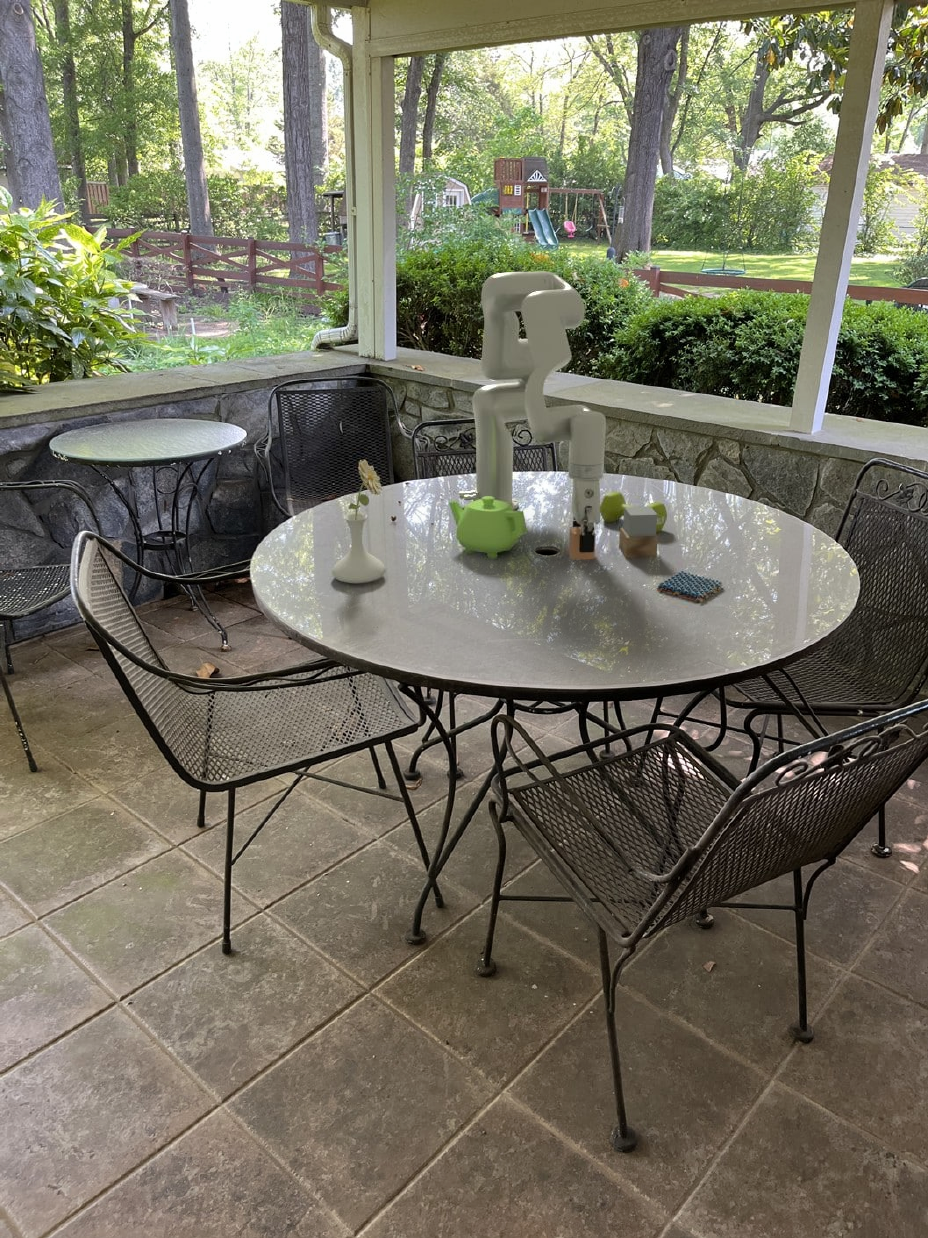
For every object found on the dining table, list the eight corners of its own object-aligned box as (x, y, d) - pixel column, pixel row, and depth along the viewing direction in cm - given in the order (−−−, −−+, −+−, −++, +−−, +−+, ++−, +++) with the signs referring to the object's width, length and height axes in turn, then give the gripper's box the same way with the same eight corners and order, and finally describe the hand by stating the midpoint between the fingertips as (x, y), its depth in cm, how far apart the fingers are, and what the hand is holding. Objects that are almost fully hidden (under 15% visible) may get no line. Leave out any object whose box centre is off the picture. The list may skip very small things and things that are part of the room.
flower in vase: (364, 592, 178) (356, 473, 168) (321, 581, 184) (311, 465, 173) (401, 572, 188) (396, 458, 178) (359, 562, 194) (352, 452, 183)
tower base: (625, 558, 195) (626, 537, 193) (618, 548, 201) (620, 527, 199) (656, 558, 195) (658, 536, 193) (648, 547, 201) (650, 526, 199)
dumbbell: (668, 530, 212) (671, 501, 209) (649, 537, 207) (651, 508, 204) (615, 515, 223) (617, 488, 220) (595, 522, 218) (597, 494, 215)
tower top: (629, 536, 193) (630, 515, 191) (622, 528, 199) (624, 507, 197) (655, 536, 194) (657, 514, 191) (648, 527, 199) (650, 506, 197)
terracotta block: (572, 559, 194) (573, 534, 192) (568, 551, 199) (569, 527, 196) (594, 559, 195) (595, 533, 192) (590, 551, 199) (591, 526, 197)
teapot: (435, 550, 201) (434, 497, 195) (467, 534, 211) (467, 483, 205) (509, 567, 190) (510, 512, 185) (539, 549, 200) (541, 496, 195)
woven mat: (725, 590, 179) (726, 581, 178) (700, 606, 172) (701, 596, 171) (679, 577, 185) (680, 568, 184) (654, 592, 178) (654, 583, 177)
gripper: (610, 479, 181) (606, 557, 187) (595, 459, 196) (592, 532, 203) (575, 480, 180) (572, 558, 187) (562, 460, 196) (560, 533, 203)
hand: (582, 544), depth 195 cm, fingers open, 9 cm apart
